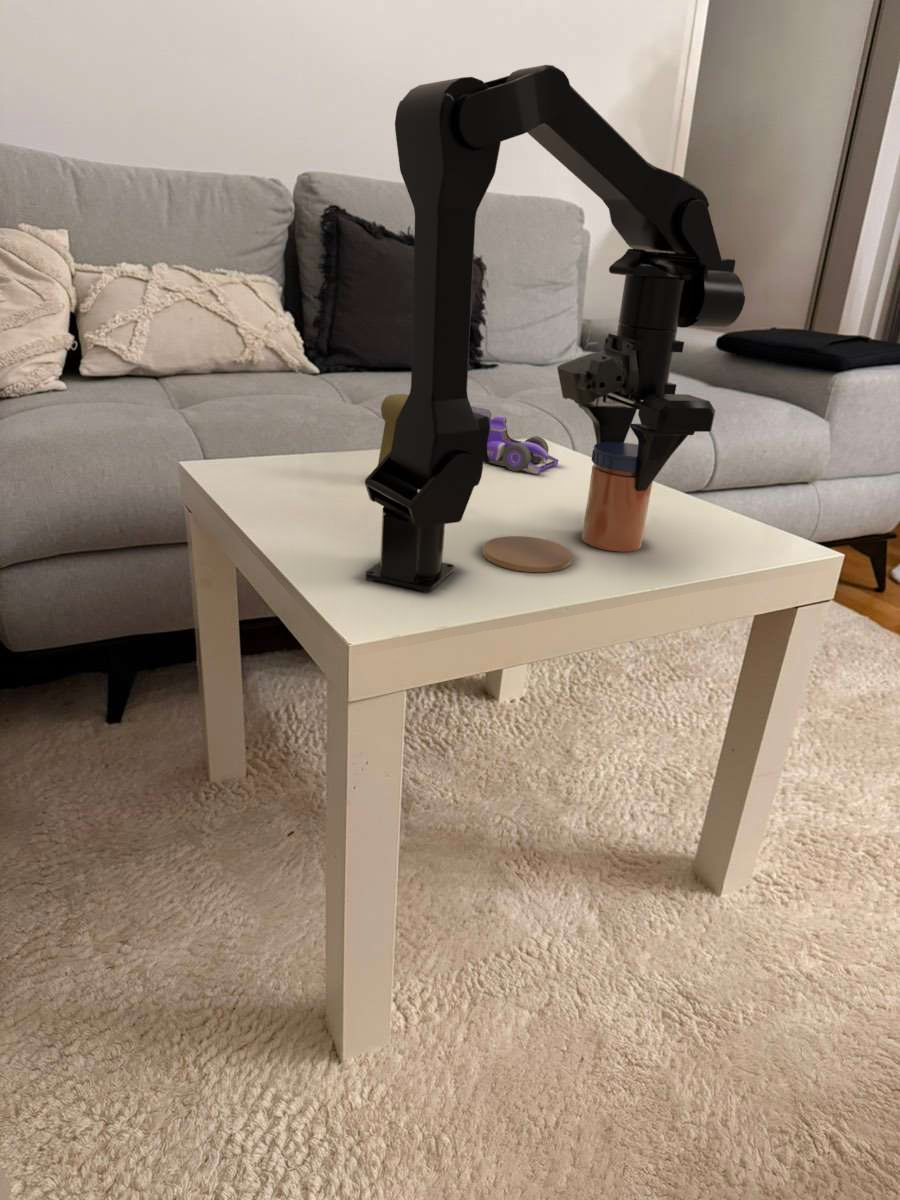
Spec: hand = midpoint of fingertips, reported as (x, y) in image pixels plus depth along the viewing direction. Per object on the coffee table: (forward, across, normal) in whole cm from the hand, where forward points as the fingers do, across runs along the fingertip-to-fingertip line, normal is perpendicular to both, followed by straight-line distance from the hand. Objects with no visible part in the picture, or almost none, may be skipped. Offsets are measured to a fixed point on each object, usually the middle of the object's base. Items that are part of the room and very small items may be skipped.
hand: (622, 481), depth 90 cm
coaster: (+7, +3, -12) cm, 14 cm away
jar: (+7, 0, 0) cm, 7 cm away
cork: (+7, -25, -17) cm, 30 cm away
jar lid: (-3, 0, 0) cm, 3 cm away
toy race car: (+7, -34, +2) cm, 35 cm away
